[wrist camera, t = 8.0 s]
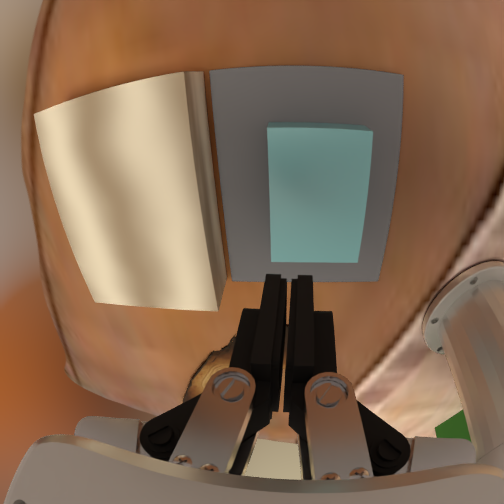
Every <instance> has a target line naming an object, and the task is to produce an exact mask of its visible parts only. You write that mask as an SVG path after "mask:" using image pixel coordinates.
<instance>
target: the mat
mask: <svg viewBox="0 0 504 504" xmlns="http://www.w3.org/2000/svg"><path fill="white" fill-rule="evenodd" d="M209 72H210V84H211V95H212V106H213V117H214V127H215V137H216V147H217V156H218V166H219V175H220V184H221V193H222V202H223V211H224V220H225V228H226V236H227V245H228V253H229V261H230V269H231V277H232V281H247V282H265V277H266V274H281V278H287V282H291V281H292V279H298V275H312V276H313V282H370V281H378V279H379V275H380V271H381V266H382V262H383V257H384V252H385V247H386V242H387V237H388V232H389V226H390V221H391V215H392V208H393V202H394V195H395V188H396V181H397V173H398V164H399V154H400V143H401V130H402V113H403V75H401V74H395V73H388V72H381V71H373V70H365V69H355V68H343V67H326V66H258V67H242V68H230V69H219V70H211V71H209ZM269 122H310V123H336V124H352V125H364V126H366V127H367V128H369V129H370V130H372V131H373V141H372V154H371V166H370V177H369V186H368V195H367V204H366V211H365V219H364V226H363V233H362V239H361V245H360V252H359V257H358V263H327V262H271V233H270V196H269V165H268V139H267V126H268V123H269Z"/></svg>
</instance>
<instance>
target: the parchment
mask: <svg viewBox="0 0 504 504" xmlns="http://www.w3.org/2000/svg"><path fill="white" fill-rule="evenodd" d="M288 328H289V327H286V337H285V349H284V360H283V369H285V368H286V354H287V341H288ZM232 339H233V340H232ZM232 339H231V341H230V343H229V344H228V346H227V347H225V348H223V349H222V348H221V349H222V350H220V351H215V352H214V351H213V352H212V354H211V355H210V356H209V357H208V359H207V361H206V362H205V363H204V365H202V366H201V368H200V369H199V371H197V373H196V374H195V376H194V377H193V378H192V379H191V380H190V385H189V387H188V388H187V391H186V395H185V397H184V399H183V403H184V402H186V401H188V400H190V399H192V398H194V397H195V396H197V395H199V394H201V393H202V392H203V390H204V388H205V386H206V384H207V382H208V380H209V379H210V377H211V376H212V375H213V374H214V373H215V372H217V371H219V370H221V369H224V368H229V364H230V360H231V356H232V352H233V348H234V344H235V340H236V337H233V338H232ZM231 343H232V344H231Z"/></svg>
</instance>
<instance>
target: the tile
mask: <svg viewBox="0 0 504 504" xmlns="http://www.w3.org/2000/svg"><path fill="white" fill-rule="evenodd" d="M267 139H268V165H269V196H270V233H271V262H327V263H358V257H359V252H360V245H361V239H362V233H363V226H364V219H365V211H366V204H367V195H368V186H369V177H370V166H371V154H372V141H373V131H372V130H370V129H369V128H367V127H366V126H364V125H352V124H336V123H310V122H269V123H268V126H267Z"/></svg>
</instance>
